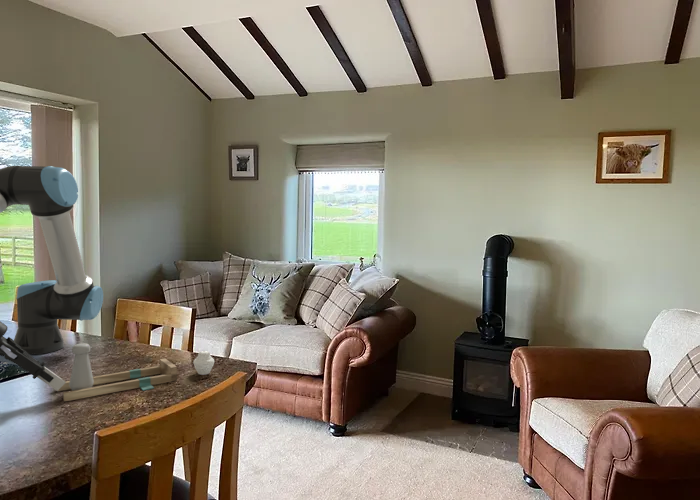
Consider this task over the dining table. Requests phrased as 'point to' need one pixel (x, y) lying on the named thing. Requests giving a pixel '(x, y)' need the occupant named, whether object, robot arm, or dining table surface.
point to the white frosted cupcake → (203, 363)
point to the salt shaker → (81, 368)
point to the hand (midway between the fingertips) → (60, 386)
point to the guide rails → (144, 383)
